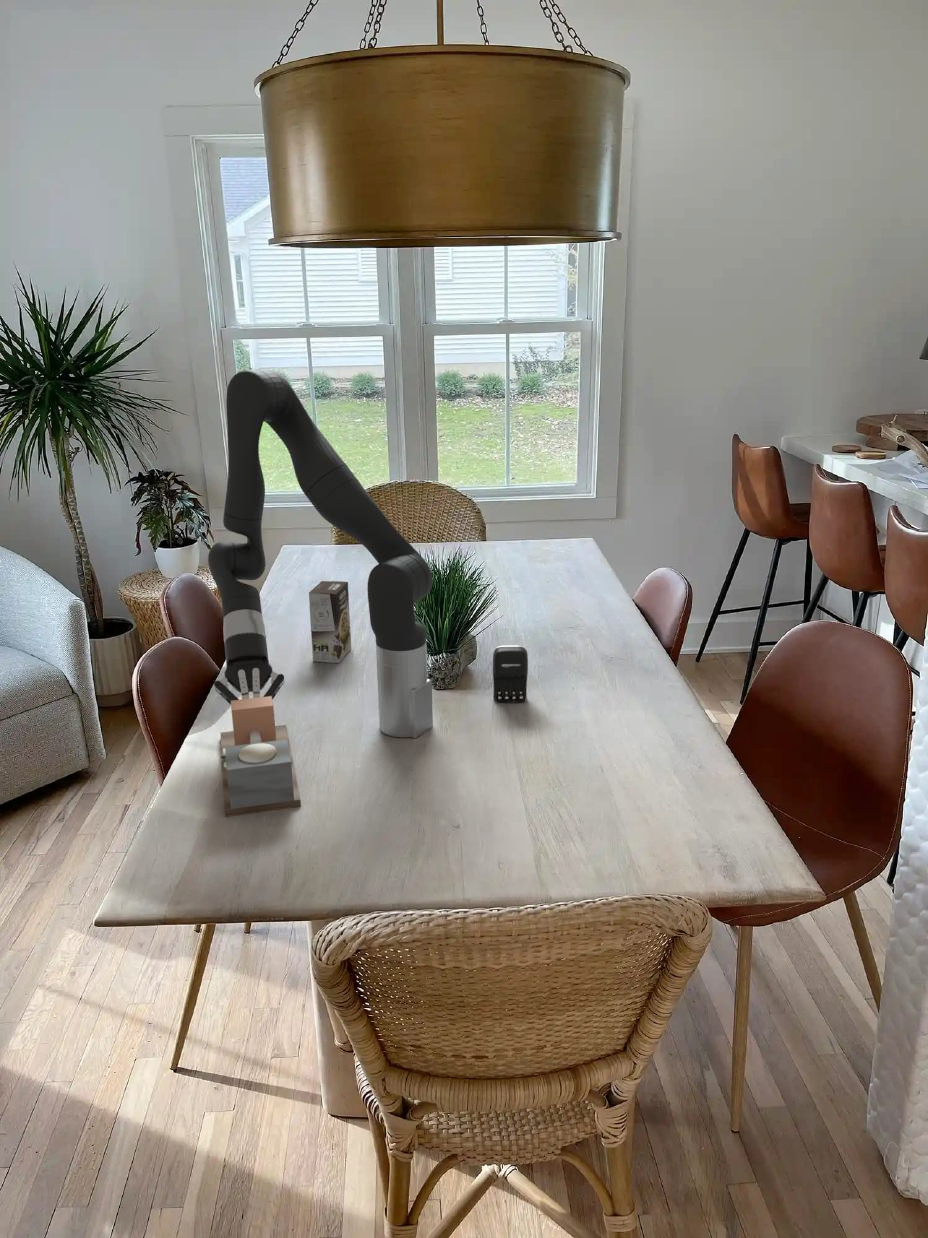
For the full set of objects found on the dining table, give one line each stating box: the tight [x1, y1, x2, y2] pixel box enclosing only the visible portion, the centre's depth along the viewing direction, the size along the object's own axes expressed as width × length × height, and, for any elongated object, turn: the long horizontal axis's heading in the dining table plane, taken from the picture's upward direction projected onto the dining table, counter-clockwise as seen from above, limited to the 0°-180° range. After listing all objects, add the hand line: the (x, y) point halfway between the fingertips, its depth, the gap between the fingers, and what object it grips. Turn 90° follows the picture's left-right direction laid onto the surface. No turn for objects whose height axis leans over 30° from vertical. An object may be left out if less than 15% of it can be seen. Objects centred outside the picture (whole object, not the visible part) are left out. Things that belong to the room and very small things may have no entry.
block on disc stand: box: [220, 696, 276, 760], centre depth 167 cm, size 9×10×10 cm
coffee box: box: [308, 580, 352, 664], centre depth 215 cm, size 9×6×16 cm
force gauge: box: [220, 724, 302, 817], centre depth 168 cm, size 28×12×9 cm, turn 14°
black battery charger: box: [492, 644, 529, 704], centre depth 192 cm, size 7×4×11 cm, turn 90°
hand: (254, 728), depth 172 cm, fingers closed
